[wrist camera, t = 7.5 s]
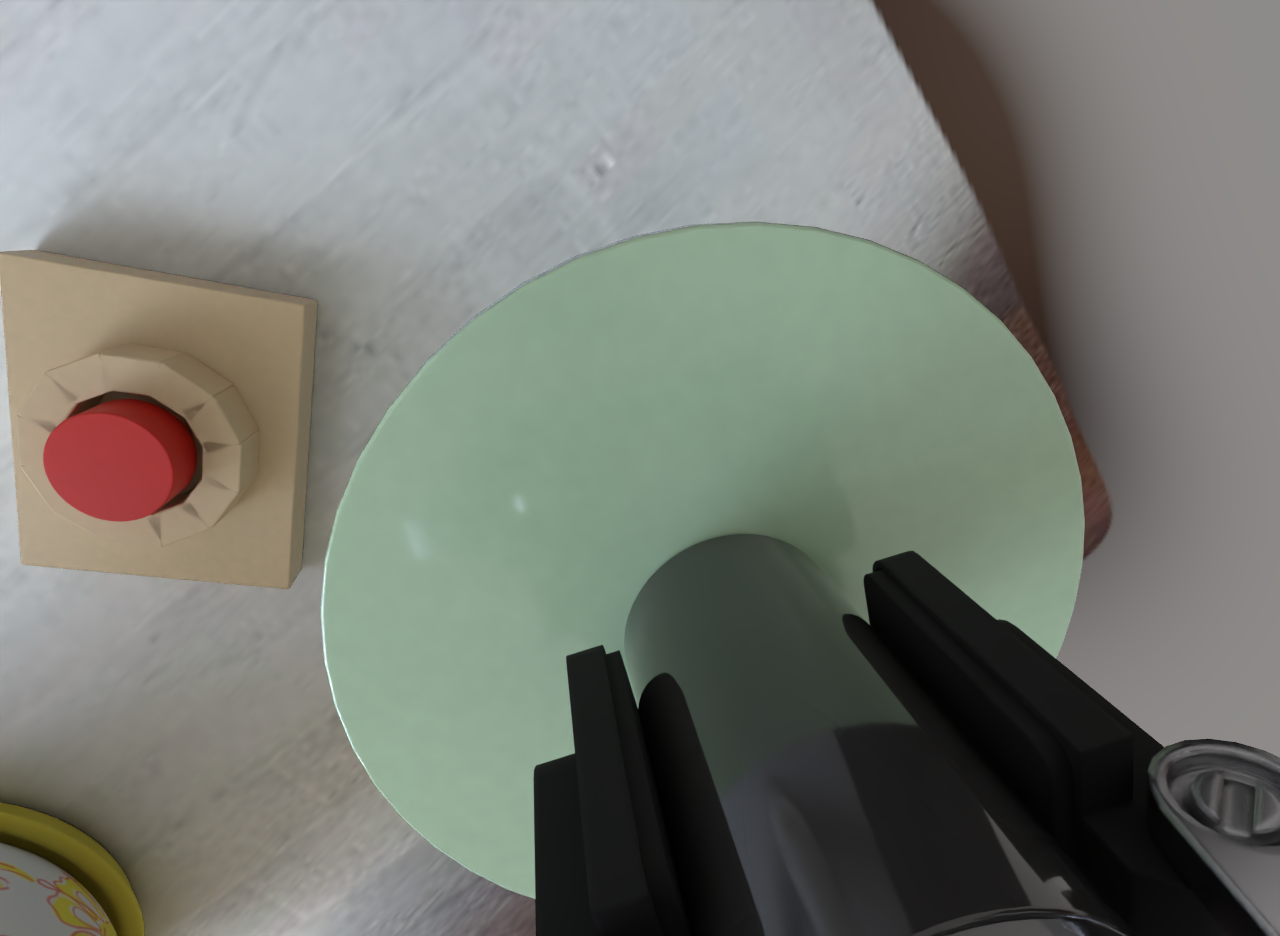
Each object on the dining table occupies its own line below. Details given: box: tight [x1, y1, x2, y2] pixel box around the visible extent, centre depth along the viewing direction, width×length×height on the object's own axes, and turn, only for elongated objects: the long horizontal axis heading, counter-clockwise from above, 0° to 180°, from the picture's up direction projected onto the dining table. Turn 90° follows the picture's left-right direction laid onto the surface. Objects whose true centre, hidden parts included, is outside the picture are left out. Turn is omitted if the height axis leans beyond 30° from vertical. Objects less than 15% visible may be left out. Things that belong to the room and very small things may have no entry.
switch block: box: [0, 250, 318, 589], centre depth 24 cm, size 11×9×4 cm
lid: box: [320, 222, 1137, 936], centre depth 9 cm, size 13×13×8 cm
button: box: [43, 399, 197, 522], centre depth 22 cm, size 4×4×2 cm
